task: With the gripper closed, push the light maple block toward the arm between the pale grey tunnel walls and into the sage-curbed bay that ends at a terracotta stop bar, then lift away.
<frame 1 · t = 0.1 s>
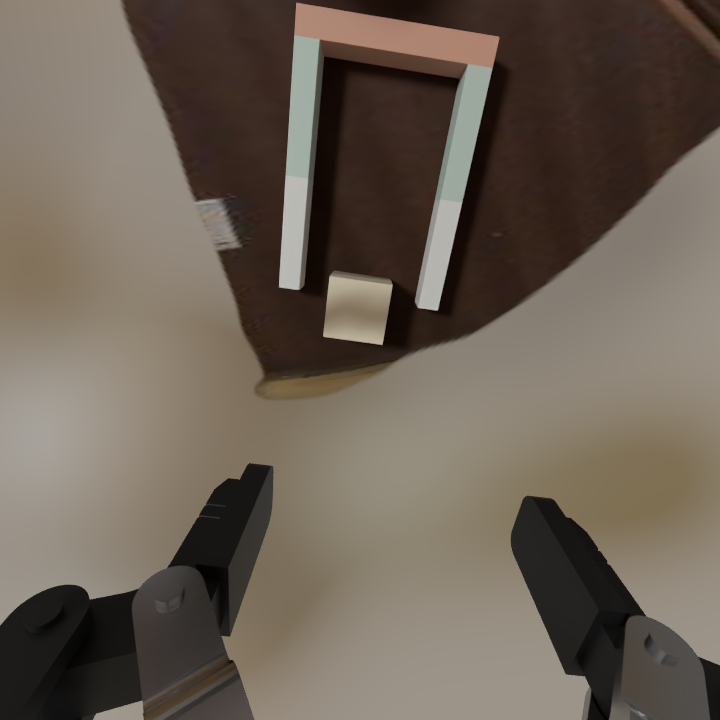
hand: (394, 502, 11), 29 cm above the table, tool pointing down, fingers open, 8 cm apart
maple block: (358, 302, 39), on the table
channel: (374, 192, 35), on the table
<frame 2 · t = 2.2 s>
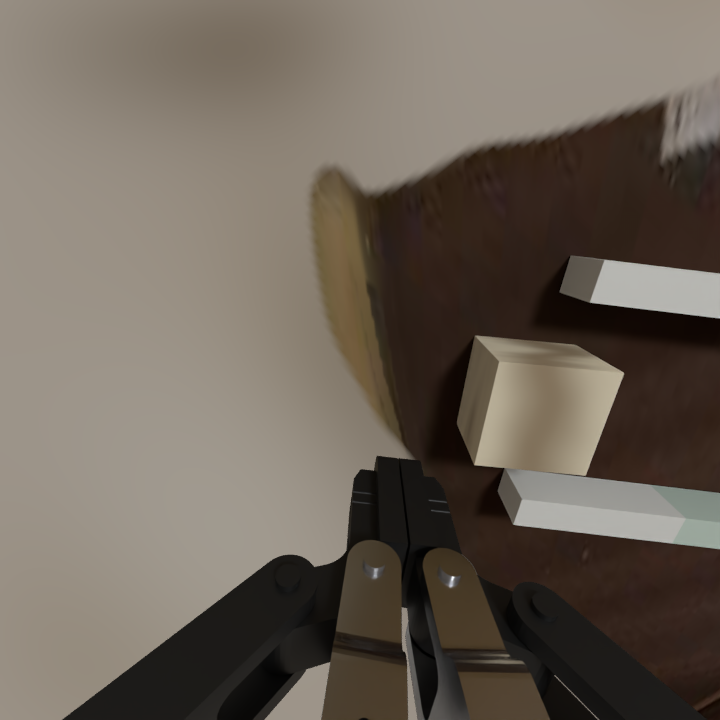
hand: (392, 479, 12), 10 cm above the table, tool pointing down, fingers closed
maple block: (512, 385, 22), on the table
channel: (688, 407, 22), on the table
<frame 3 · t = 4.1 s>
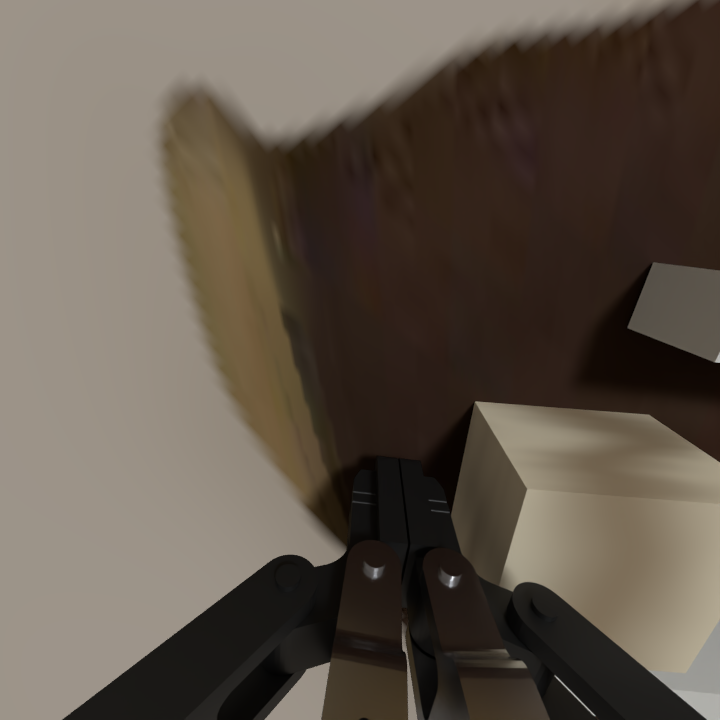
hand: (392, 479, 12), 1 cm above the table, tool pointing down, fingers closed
maple block: (538, 476, 13), on the table, touching gripper
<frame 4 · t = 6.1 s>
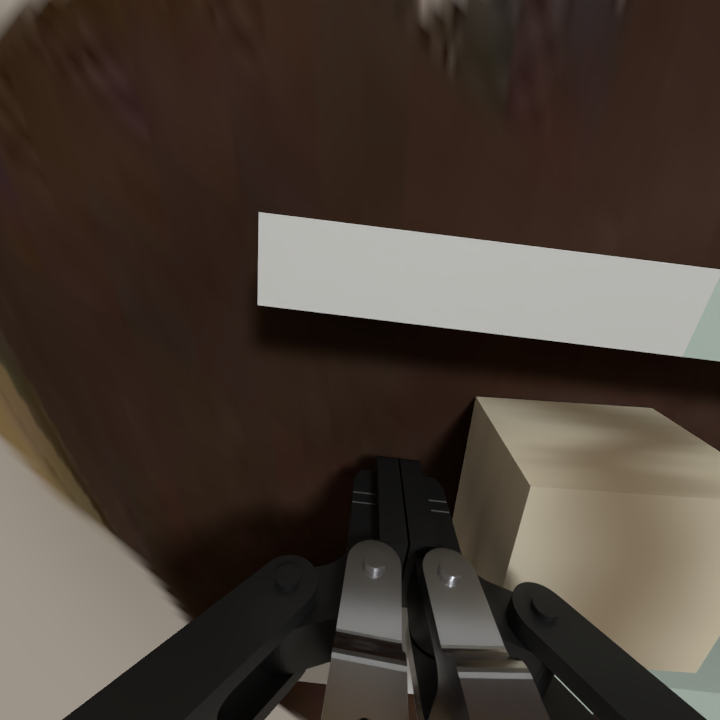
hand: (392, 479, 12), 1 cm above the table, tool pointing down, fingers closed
maple block: (542, 474, 13), resting in channel, touching gripper
channel: (546, 478, 13), on the table
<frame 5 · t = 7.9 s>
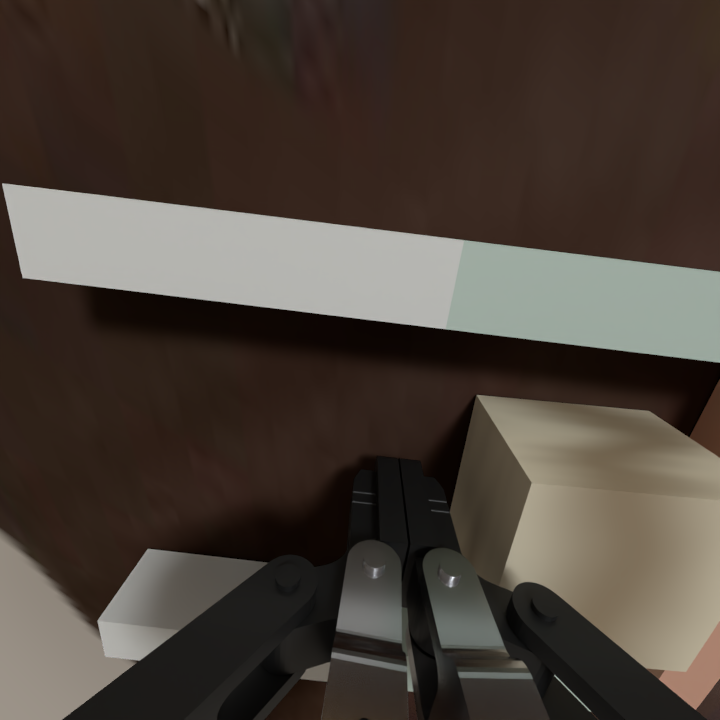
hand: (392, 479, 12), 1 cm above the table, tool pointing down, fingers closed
maple block: (539, 474, 13), resting in channel, touching gripper
channel: (398, 461, 13), on the table
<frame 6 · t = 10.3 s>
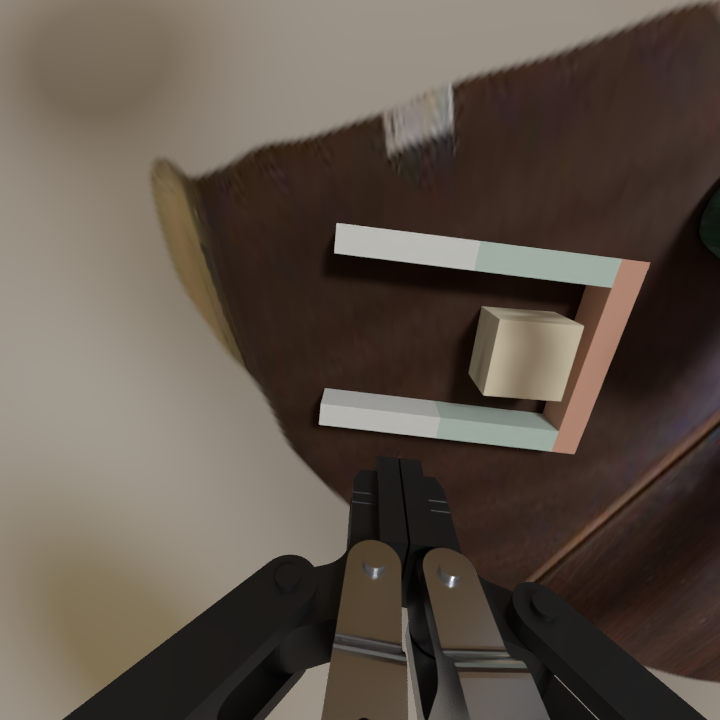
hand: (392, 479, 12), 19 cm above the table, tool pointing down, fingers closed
maple block: (509, 343, 30), resting in channel
channel: (447, 338, 30), on the table
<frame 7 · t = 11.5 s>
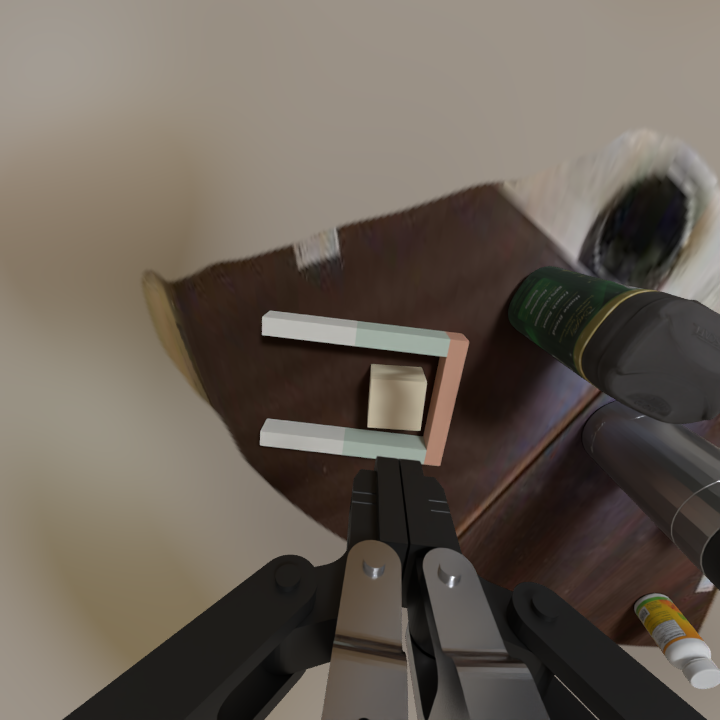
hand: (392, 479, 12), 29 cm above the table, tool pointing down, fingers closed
supplement bottle: (650, 603, 55), on the table
coffee jar: (549, 308, 39), on the table
maple block: (393, 388, 43), resting in channel
channel: (350, 384, 43), on the table
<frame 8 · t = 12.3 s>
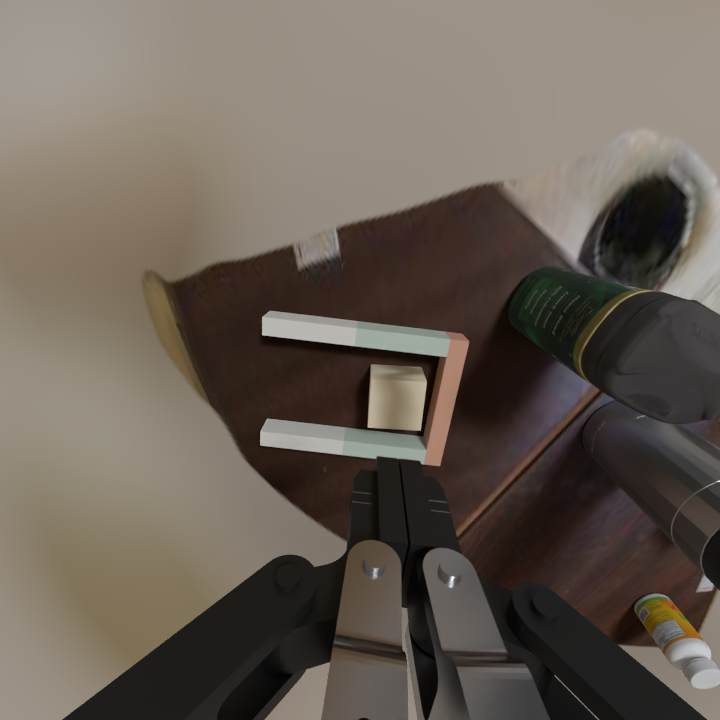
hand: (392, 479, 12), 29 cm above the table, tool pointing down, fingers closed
supplement bottle: (650, 603, 55), on the table
coffee jar: (549, 308, 39), on the table
maple block: (393, 388, 43), resting in channel
channel: (350, 385, 43), on the table
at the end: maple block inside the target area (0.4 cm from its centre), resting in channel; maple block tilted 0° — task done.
